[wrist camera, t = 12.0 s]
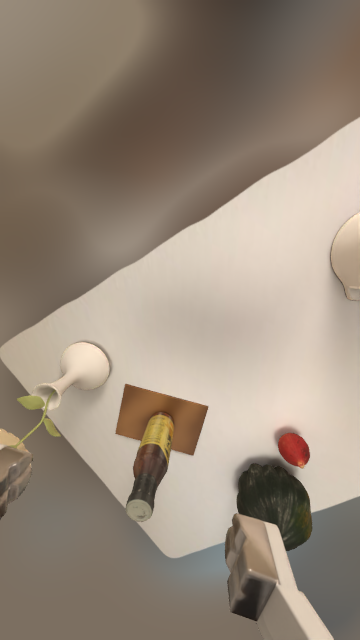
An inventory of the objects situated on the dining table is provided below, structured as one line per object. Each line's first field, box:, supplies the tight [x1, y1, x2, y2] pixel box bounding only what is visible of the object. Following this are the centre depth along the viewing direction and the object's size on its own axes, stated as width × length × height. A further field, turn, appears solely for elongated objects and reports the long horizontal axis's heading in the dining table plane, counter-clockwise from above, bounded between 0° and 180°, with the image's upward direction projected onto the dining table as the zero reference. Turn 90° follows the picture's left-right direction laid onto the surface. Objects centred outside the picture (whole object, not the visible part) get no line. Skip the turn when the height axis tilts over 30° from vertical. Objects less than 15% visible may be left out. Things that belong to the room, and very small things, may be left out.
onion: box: [278, 433, 310, 469], centre depth 44 cm, size 6×6×8 cm
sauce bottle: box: [126, 412, 174, 522], centre depth 40 cm, size 7×6×20 cm
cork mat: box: [115, 384, 208, 455], centre depth 50 cm, size 20×14×1 cm
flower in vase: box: [0, 342, 110, 467], centre depth 36 cm, size 13×11×25 cm
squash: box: [237, 464, 312, 551], centre depth 44 cm, size 14×15×15 cm
